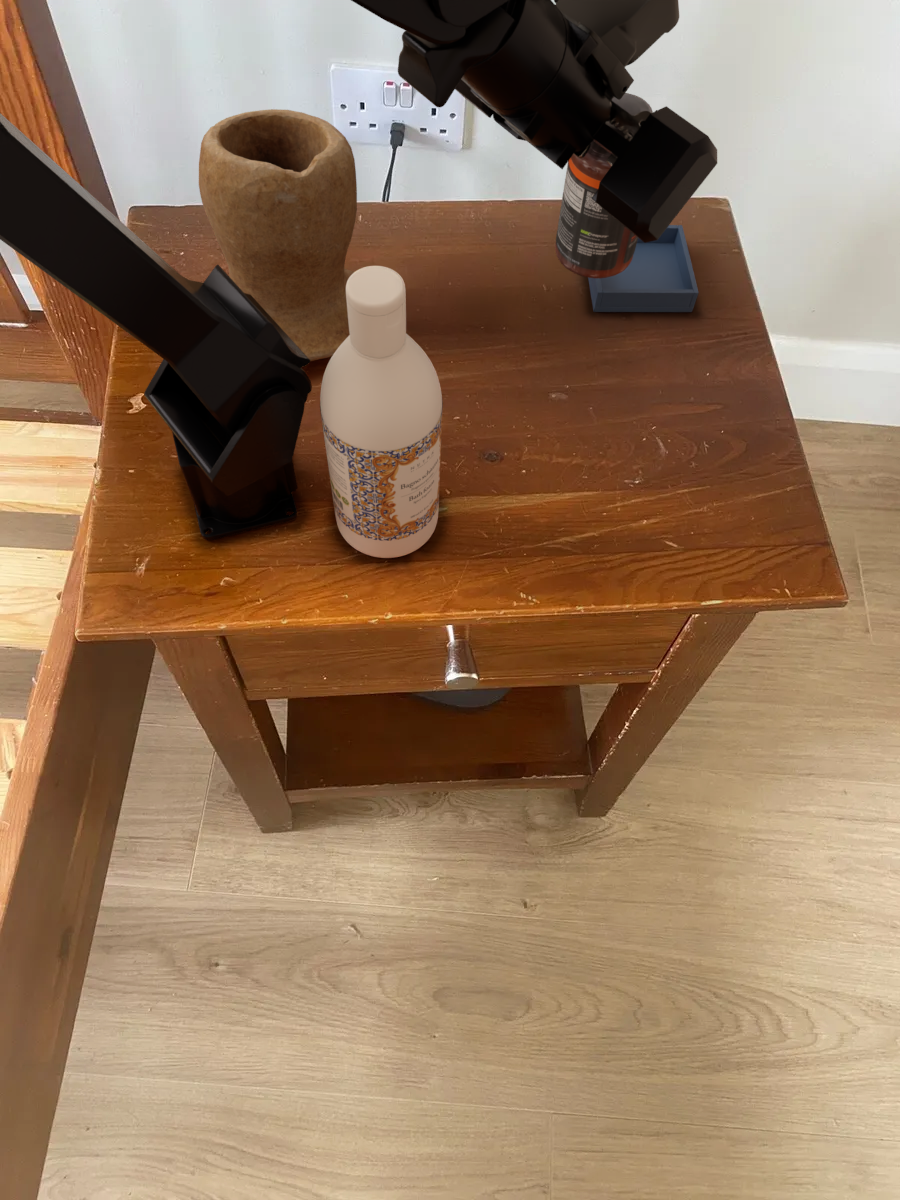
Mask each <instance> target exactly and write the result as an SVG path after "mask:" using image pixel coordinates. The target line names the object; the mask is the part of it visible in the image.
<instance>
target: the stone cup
mask: <svg viewBox="0 0 900 1200" xmlns="http://www.w3.org/2000/svg"><path fill="white" fill-rule="evenodd" d="M199 151H200V153H199V159H198V189H199V195H200V199H201V203H202V206H203V210H204V212H205V215H206V217H207V220H208V222H209V224H210V225H209V226H210V227H211V230H212V232H213V234H214V237H215V239H216V242H217V244H218V246H219V248H220V250H221V252H222V254H223V257H224V259H225V262H226V266H227V269H228V276H229V277H230V278H231V279H232V280H233V281H234V282H235V284H236V285H237V286H238V287H239V288H240V289H241V290H242V291H243V292H244V293H246V294H250V295H251V296H252V297H253V298H254V299H255V300H256V301H257V302H258V303H259V304H260V305H261V307H262V308H263V309H264V310H265V311H266V312H267V313H268V314H269V315H270V316H271V318H272V319H273V320H274V321H275V322H276V323H277V324H278V325H279V326H280V327H281V329H282V330H283V331H284V332H285V333H286V334H287V335H288V336H289V337H290V338H291V340H292V341H293V342H294V343H295V344H296V345H297V346H298V347H299V348H300V349H301V351H302V352H303V353H304V354H305V355H306V356H307V357H308V358H309V359H310V362H314V361H318V360H322V359H327V358H331V357H332V356H333V354H334V353H335V351H336V350H337V349H338V347H339V346H340V345H341V344H342V343H343V342H344V340H345V339H346V338H347V337H348V336H349V335H350V332H349V323H348V312H347V301H346V283H347V281H348V279H349V277H350V276H351V275H352V274H353V273H354V272H355V271H354V270H351V269H347V268H345V263H346V258H347V254H348V250H349V246H350V243H351V241H352V237H353V233H354V228H355V224H356V220H357V212H358V189H357V188H358V186H357V185H358V183H357V171H356V161H355V155H354V153H353V149H352V147H351V145H350V142H349V141H348V139H347V138H346V136H345V135H344V134H343V133H342V132H341V131H340V130H339V129H338V128H337V127H336V126H334V125H333V124H332V123H330V122H328V121H327V120H325V119H323V118H320V117H317V116H314V115H312V114H308V113H306V112H302V111H296V110H291V109H277V108H276V109H274V108H273V109H272V108H271V109H261V110H260V109H259V110H253V111H245V112H242V113H238V114H235V115H231V116H228V117H225V118H223V119H221V120H220V121H217V123H215V124H214V125H213V126H211V127H210V128H209V129H208V130H207V131H206V132H205V134H204V135H203V137H202V140H201V142H200V149H199Z"/></svg>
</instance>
